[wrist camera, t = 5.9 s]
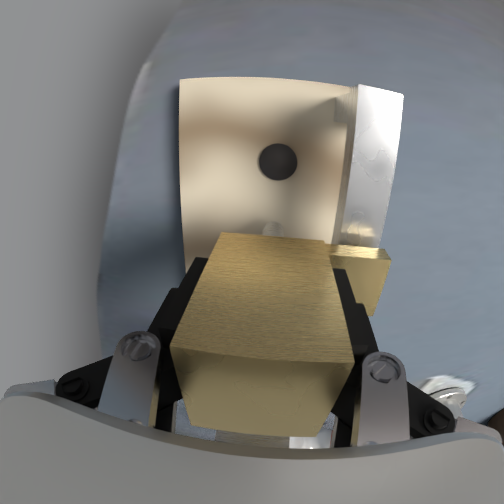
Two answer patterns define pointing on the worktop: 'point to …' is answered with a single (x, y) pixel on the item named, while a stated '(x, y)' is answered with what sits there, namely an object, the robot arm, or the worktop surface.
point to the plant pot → (498, 424)
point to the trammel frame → (356, 189)
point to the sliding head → (271, 332)
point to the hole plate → (258, 158)
